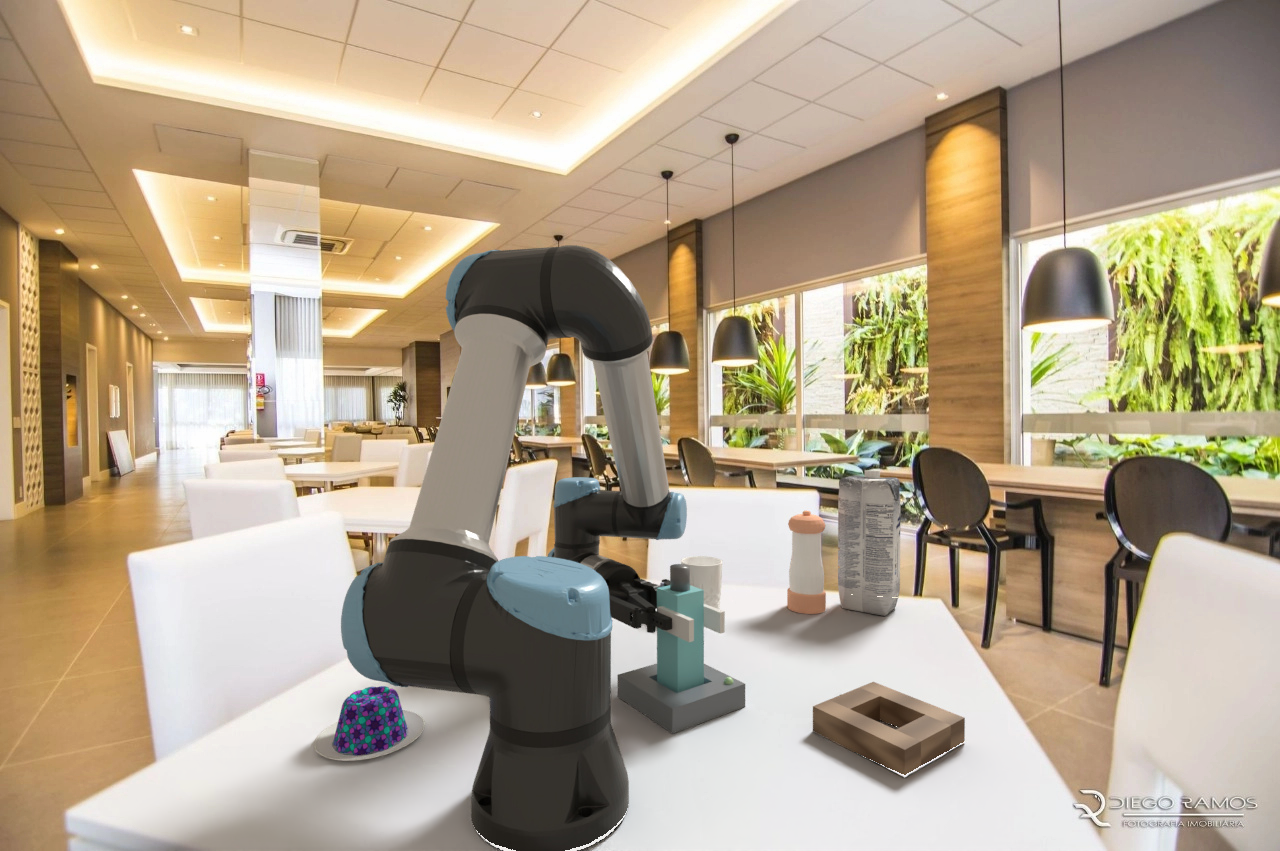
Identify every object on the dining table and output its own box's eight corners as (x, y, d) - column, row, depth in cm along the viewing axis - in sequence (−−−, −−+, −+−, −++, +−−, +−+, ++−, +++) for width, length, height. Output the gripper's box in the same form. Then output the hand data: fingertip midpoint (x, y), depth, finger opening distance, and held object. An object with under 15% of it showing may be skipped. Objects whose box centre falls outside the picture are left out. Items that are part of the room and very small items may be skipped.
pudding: (372, 708, 82) (372, 668, 82) (446, 725, 78) (445, 683, 78) (289, 753, 71) (289, 707, 71) (370, 777, 67) (369, 728, 66)
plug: (703, 687, 83) (703, 567, 82) (677, 696, 80) (677, 572, 80) (682, 676, 86) (682, 560, 86) (657, 684, 84) (656, 565, 84)
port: (745, 706, 82) (745, 678, 82) (672, 733, 75) (672, 702, 75) (686, 675, 92) (686, 650, 92) (617, 696, 85) (617, 669, 85)
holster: (964, 743, 73) (964, 717, 73) (904, 778, 66) (904, 749, 66) (873, 704, 82) (873, 681, 82) (812, 731, 75) (812, 706, 75)
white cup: (721, 606, 124) (721, 556, 124) (723, 619, 116) (723, 566, 116) (681, 605, 125) (681, 555, 125) (680, 618, 117) (680, 565, 117)
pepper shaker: (830, 614, 119) (830, 513, 119) (791, 614, 120) (792, 513, 119) (820, 602, 127) (820, 508, 126) (783, 602, 127) (784, 507, 127)
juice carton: (889, 619, 116) (890, 473, 116) (834, 609, 123) (834, 470, 122) (902, 607, 123) (903, 470, 123) (849, 598, 130) (850, 467, 129)
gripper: (653, 598, 103) (756, 641, 84) (557, 619, 93) (651, 673, 74) (652, 552, 103) (756, 585, 84) (557, 568, 93) (650, 609, 74)
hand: (707, 626), depth 79 cm, fingers closed on plug, 4 cm apart
